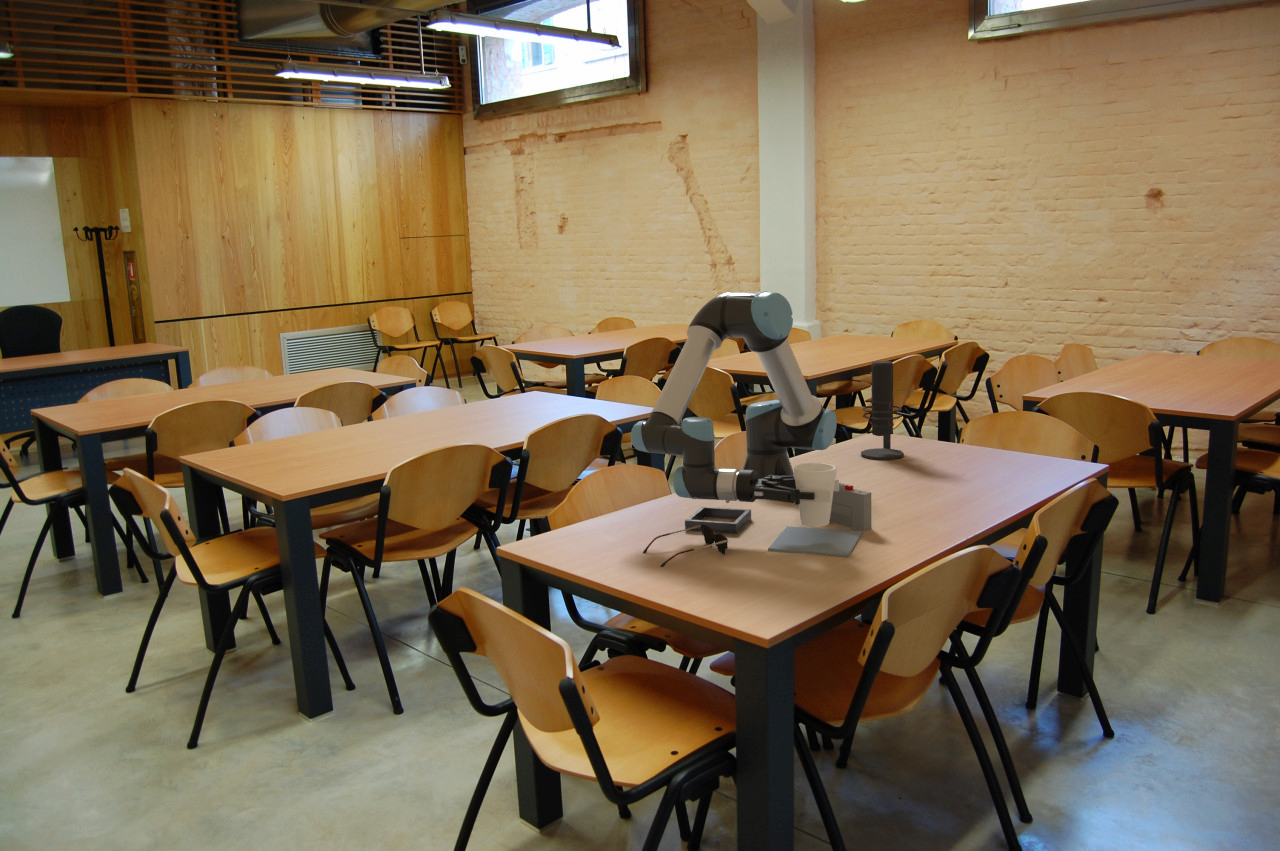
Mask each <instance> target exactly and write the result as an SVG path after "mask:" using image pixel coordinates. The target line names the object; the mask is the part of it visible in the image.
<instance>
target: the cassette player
mask: <svg viewBox="0 0 1280 851" xmlns="http://www.w3.org/2000/svg"><path fill="white" fill-rule="evenodd" d="M829 524H835V525H838V526H842V527H846V528H848V529H849V528H851V529H854V530H856V531H862V532H866V531H869V530H872V492H869V491H867V490H860V489H858V488H857V489H856V488H854V485H851V484H848V483H847V484H845V483H842V482H839V491H833V499H832V506H831V514H830V520H829Z"/></svg>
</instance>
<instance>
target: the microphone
mask: <svg viewBox="0 0 1280 851" xmlns="http://www.w3.org/2000/svg"><path fill="white" fill-rule="evenodd" d="M894 403H895V402H894V363H893V361H890V360H889V361H888V360H877V361H872V363H871V400H870V404H869V405H867V406H864V407H862V409H861V410H862V411H863V412H864V413H863V414H862V418H865V419H866V420H867V421H869V423H870V426H871V434H872V436H875V437H883V438H882V442H883V443H882V444H883V445H882V446H883V447H882V448H880V447H879V448H877V447H876V448H868V449H864V450H862V451H860V456H861V457H863V458H865V459H868V460H878V461H881V460H882V461H886V460H888V461H889V460H897V459H900V458H903V457H904V455H905V452H903V451H902V450H901V449H895V448H892V447H891V435H892V434H893V433H894V425H895V422H896V420H898V419H900V418H902V417H903V416H902V414H901V413H900V412H901V411H903V410H902V407H901V406H898V405H897V404H895V405H894ZM870 409H871V410H870ZM867 415H870V416H871V417H869V416H867ZM894 415H895V416H894ZM894 420H895V421H894Z"/></svg>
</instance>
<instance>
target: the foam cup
mask: <svg viewBox="0 0 1280 851" xmlns="http://www.w3.org/2000/svg"><path fill="white" fill-rule="evenodd" d="M793 473H794V478H795V483H796V489H798V490H800V492H801V488H806V489H824V490H830V503H829V502H813V501H801V499H800V504H798V511H799V517H800V523H801V524H802V525H804V526H805V527H806V526H807V527H812V528H819V527H826V526H829V524H830V522H829V520H830V514H831V506H832V499H833V491H834V484H835V479H837V466H835V465H834V464H832V463H831V464H830V463H823V462H807V463H800V464H796V465H794V466H793Z"/></svg>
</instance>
